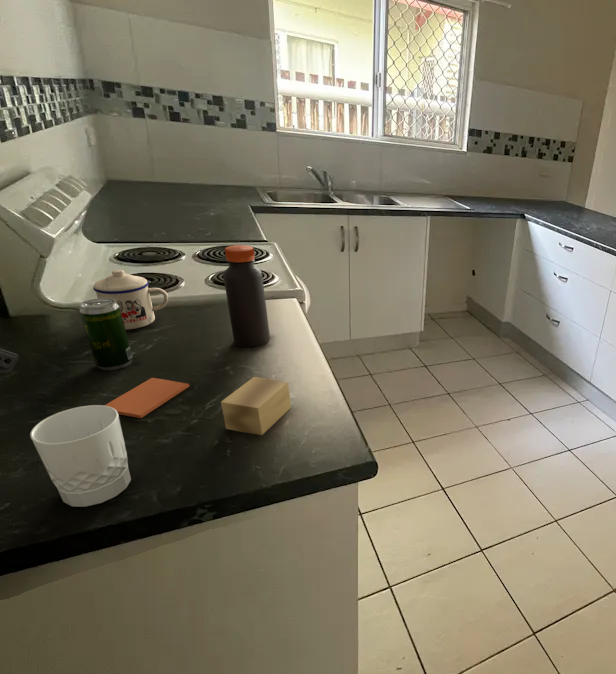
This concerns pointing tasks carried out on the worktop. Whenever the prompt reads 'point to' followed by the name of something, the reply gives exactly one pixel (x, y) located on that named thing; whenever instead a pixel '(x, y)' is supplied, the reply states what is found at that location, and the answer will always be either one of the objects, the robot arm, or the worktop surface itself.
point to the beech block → (256, 405)
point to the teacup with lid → (130, 297)
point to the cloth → (146, 397)
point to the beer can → (106, 333)
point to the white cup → (84, 454)
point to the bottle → (245, 297)
